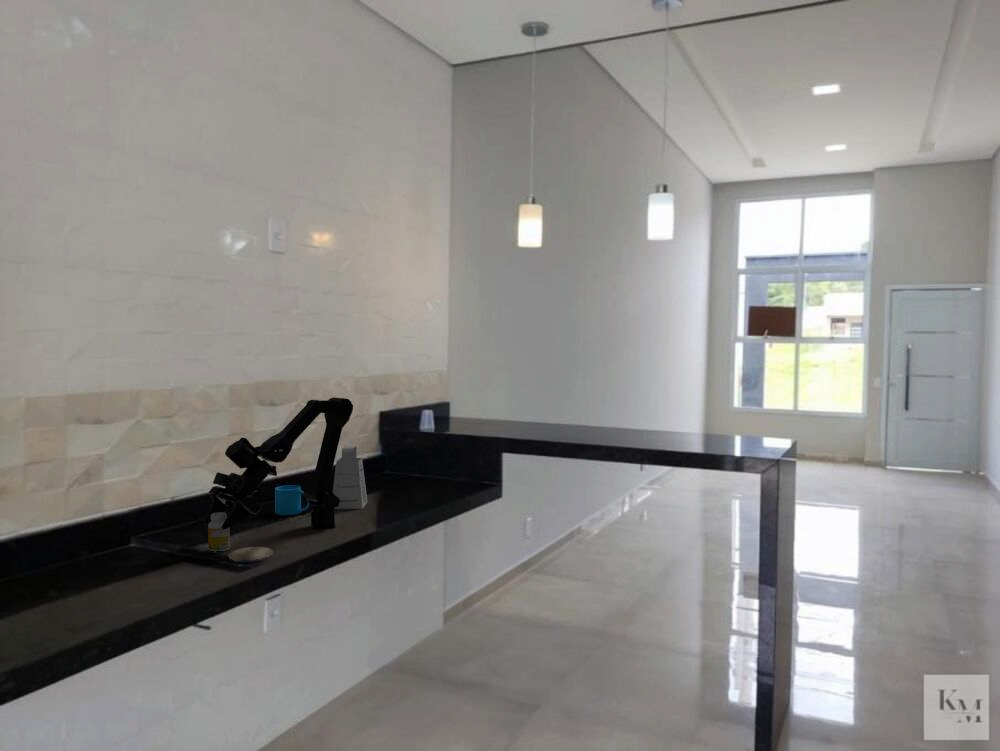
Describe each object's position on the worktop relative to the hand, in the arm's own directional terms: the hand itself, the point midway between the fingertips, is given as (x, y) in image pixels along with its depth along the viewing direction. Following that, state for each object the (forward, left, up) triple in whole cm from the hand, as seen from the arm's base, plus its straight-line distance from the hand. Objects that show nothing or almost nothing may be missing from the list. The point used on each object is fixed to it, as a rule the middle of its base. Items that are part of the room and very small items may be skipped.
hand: (214, 525), depth 194 cm
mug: (-18, -40, -7) cm, 45 cm away
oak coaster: (-10, +8, -7) cm, 14 cm away
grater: (-36, -47, -7) cm, 60 cm away
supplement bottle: (-1, -1, -7) cm, 7 cm away
